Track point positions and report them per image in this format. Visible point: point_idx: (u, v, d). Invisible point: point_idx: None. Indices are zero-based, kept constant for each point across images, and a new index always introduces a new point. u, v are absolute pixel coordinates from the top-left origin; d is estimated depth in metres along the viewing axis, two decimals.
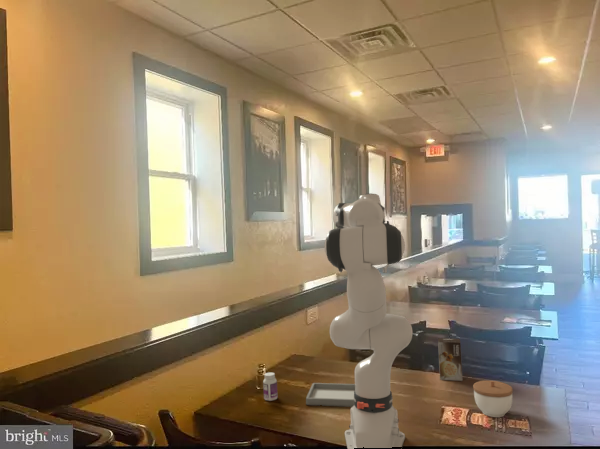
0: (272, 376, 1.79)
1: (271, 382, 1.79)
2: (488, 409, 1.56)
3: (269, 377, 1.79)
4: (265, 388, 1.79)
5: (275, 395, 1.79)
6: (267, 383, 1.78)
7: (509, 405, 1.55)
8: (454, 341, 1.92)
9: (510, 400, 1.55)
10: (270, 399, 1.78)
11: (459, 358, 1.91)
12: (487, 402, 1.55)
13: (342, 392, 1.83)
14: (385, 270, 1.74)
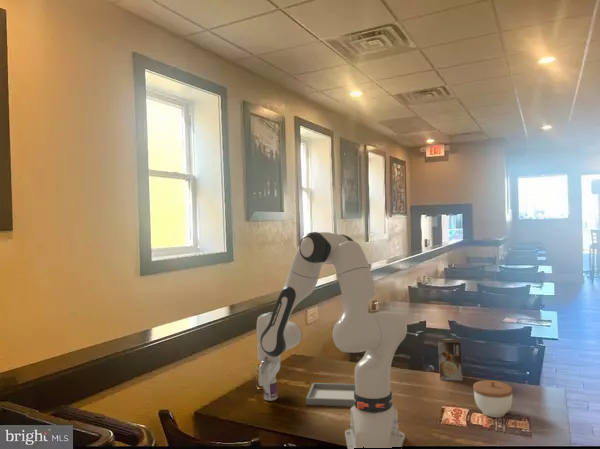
0: None
1: (271, 382, 1.79)
2: (488, 409, 1.56)
3: None
4: None
5: (275, 395, 1.79)
6: None
7: (509, 405, 1.55)
8: (454, 341, 1.92)
9: (510, 400, 1.55)
10: (270, 399, 1.78)
11: (459, 358, 1.91)
12: (487, 402, 1.55)
13: (342, 392, 1.83)
14: None
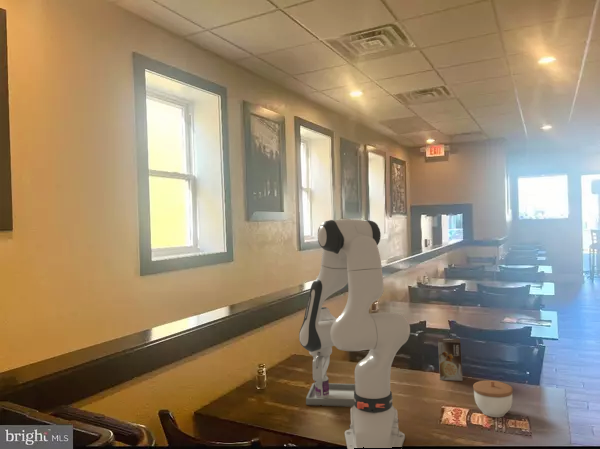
0: None
1: (323, 379, 1.77)
2: (488, 409, 1.56)
3: None
4: None
5: (327, 393, 1.78)
6: None
7: (509, 405, 1.55)
8: (454, 341, 1.92)
9: (510, 400, 1.55)
10: (322, 397, 1.77)
11: (459, 358, 1.91)
12: (487, 402, 1.55)
13: (342, 392, 1.83)
14: None
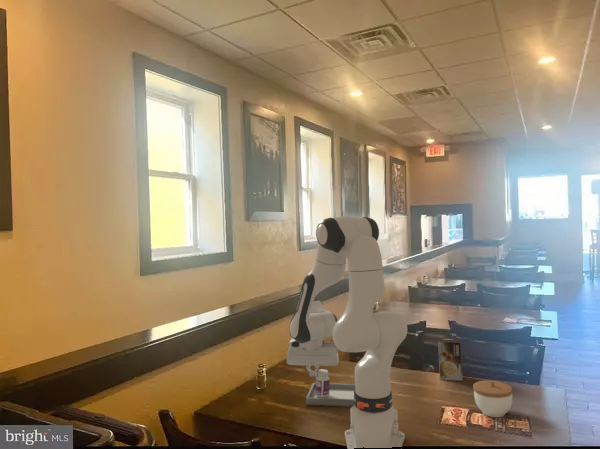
0: (326, 373, 1.78)
1: (325, 379, 1.77)
2: (488, 409, 1.56)
3: (323, 374, 1.78)
4: (318, 385, 1.78)
5: (327, 392, 1.78)
6: (320, 380, 1.77)
7: (509, 405, 1.55)
8: (454, 341, 1.92)
9: (510, 400, 1.55)
10: (322, 396, 1.77)
11: (459, 358, 1.91)
12: (487, 402, 1.55)
13: (342, 392, 1.83)
14: None
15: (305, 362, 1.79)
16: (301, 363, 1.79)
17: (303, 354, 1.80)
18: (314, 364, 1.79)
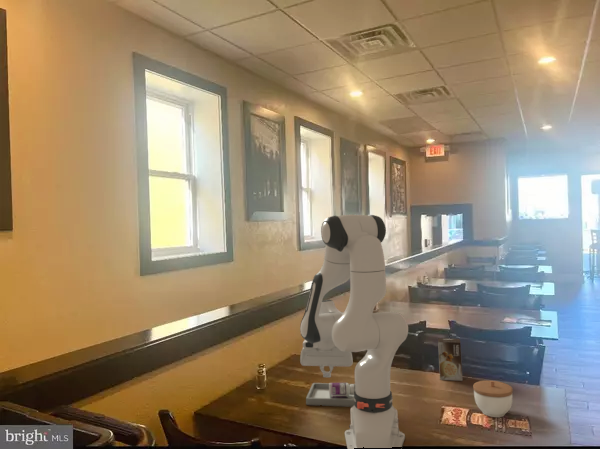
0: None
1: (348, 396, 1.76)
2: (488, 409, 1.56)
3: (352, 394, 1.76)
4: (341, 391, 1.76)
5: None
6: (347, 393, 1.75)
7: (509, 405, 1.55)
8: (454, 341, 1.92)
9: (510, 400, 1.55)
10: (331, 396, 1.76)
11: (459, 358, 1.91)
12: (487, 402, 1.55)
13: None
14: None
15: (319, 363, 1.78)
16: (315, 364, 1.78)
17: (316, 354, 1.78)
18: (328, 365, 1.78)
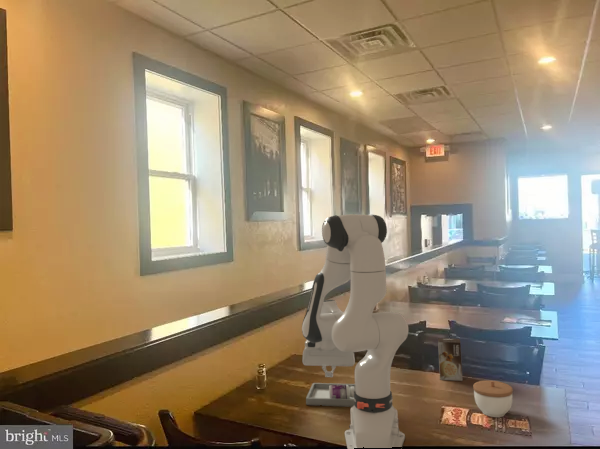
0: None
1: None
2: (488, 409, 1.56)
3: (352, 397, 1.76)
4: (342, 398, 1.74)
5: None
6: None
7: (509, 405, 1.55)
8: (454, 341, 1.92)
9: (510, 400, 1.55)
10: None
11: (459, 358, 1.91)
12: (487, 402, 1.55)
13: None
14: None
15: (321, 362, 1.78)
16: (317, 363, 1.78)
17: (318, 354, 1.78)
18: (330, 364, 1.77)
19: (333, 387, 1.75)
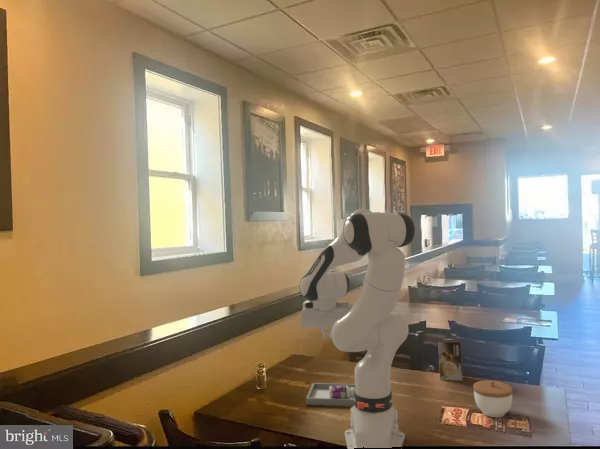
0: None
1: None
2: (488, 409, 1.56)
3: None
4: None
5: None
6: None
7: (509, 405, 1.55)
8: (454, 341, 1.92)
9: (510, 400, 1.55)
10: None
11: (459, 358, 1.91)
12: (487, 402, 1.55)
13: None
14: None
15: (319, 324, 1.78)
16: (315, 325, 1.78)
17: (316, 315, 1.78)
18: (328, 325, 1.77)
19: (333, 389, 1.74)
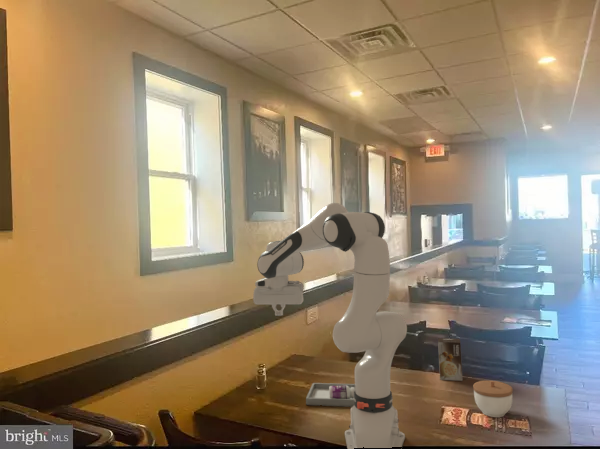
0: None
1: None
2: (488, 409, 1.56)
3: None
4: None
5: None
6: None
7: (509, 405, 1.55)
8: (454, 341, 1.92)
9: (510, 400, 1.55)
10: None
11: (459, 358, 1.91)
12: (487, 402, 1.55)
13: None
14: None
15: (271, 301, 1.85)
16: (267, 302, 1.86)
17: (268, 293, 1.86)
18: (279, 303, 1.85)
19: (333, 390, 1.74)
